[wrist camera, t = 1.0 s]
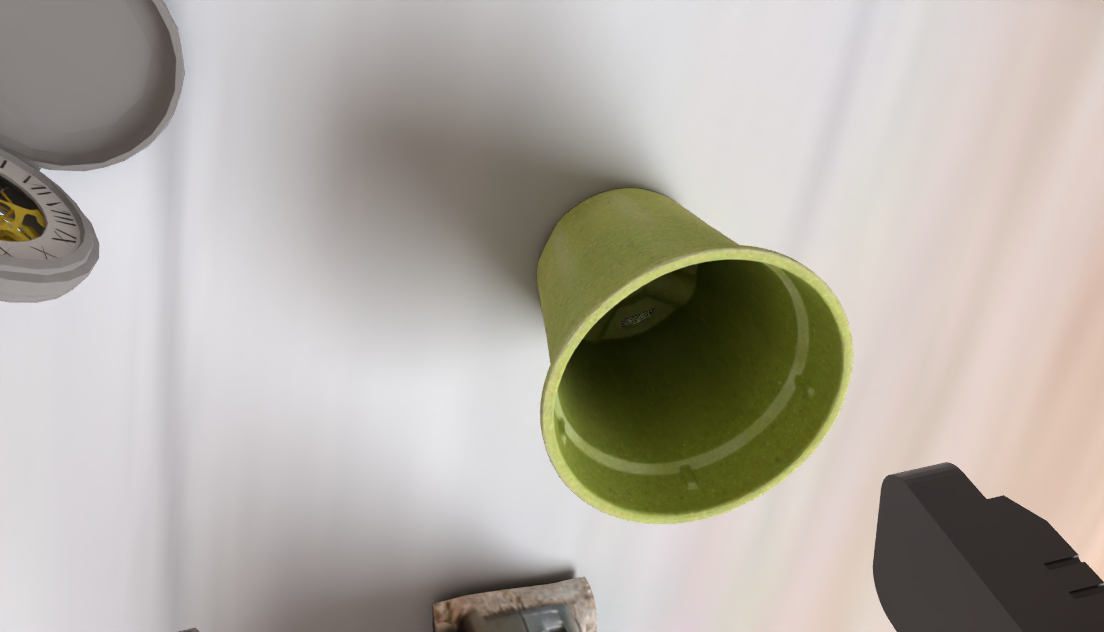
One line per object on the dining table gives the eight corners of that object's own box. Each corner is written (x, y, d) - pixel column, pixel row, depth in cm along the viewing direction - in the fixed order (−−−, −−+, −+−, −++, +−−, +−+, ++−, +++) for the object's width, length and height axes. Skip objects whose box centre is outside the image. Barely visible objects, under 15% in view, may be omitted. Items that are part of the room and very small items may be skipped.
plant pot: (444, 211, 33) (490, 347, 26) (699, 92, 33) (817, 194, 26) (545, 409, 38) (607, 569, 31) (766, 306, 38) (880, 441, 31)
